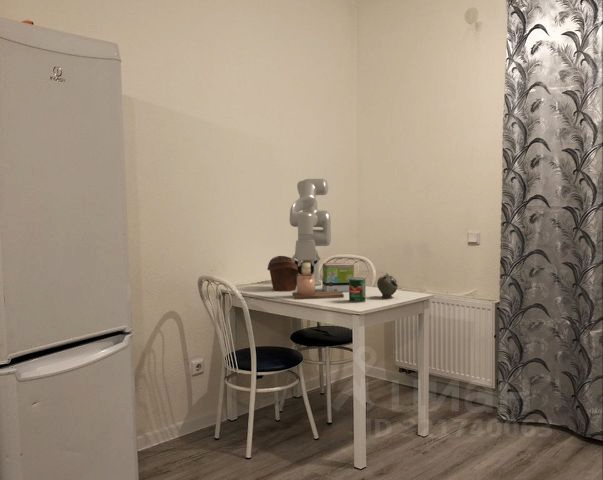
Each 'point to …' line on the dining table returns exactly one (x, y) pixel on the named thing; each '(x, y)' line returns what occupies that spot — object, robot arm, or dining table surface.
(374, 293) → the dining table surface
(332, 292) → the board
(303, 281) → the jar
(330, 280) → the coffee box
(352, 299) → the canned tomato
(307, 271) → the stopper
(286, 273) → the case
